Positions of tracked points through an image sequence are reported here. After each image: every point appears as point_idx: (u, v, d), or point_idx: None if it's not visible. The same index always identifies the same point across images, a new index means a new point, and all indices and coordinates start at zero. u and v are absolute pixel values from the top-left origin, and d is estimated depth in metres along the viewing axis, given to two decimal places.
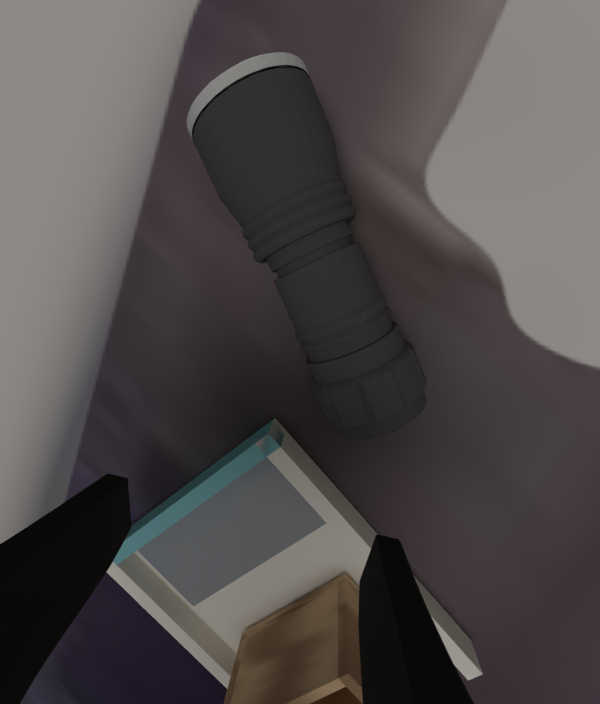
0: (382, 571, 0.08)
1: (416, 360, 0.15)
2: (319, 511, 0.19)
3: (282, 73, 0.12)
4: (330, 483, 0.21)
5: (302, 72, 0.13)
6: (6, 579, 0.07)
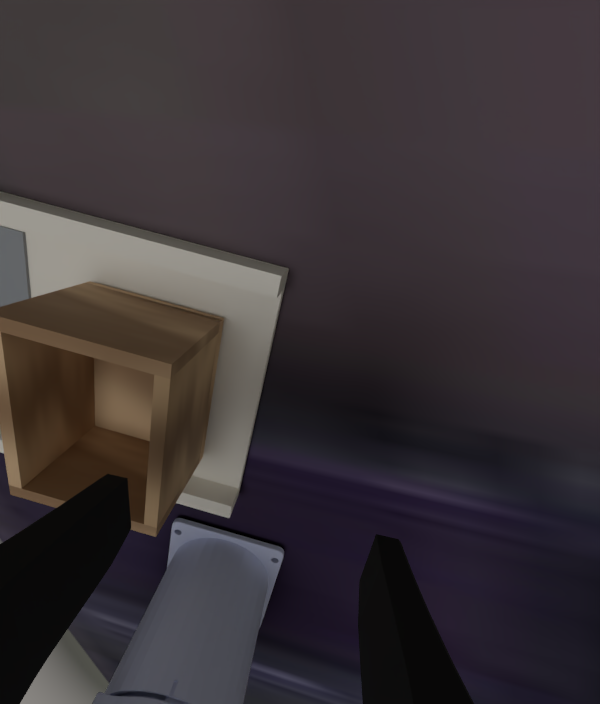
0: (382, 571, 0.08)
1: None
2: None
3: None
4: None
5: None
6: (6, 579, 0.07)
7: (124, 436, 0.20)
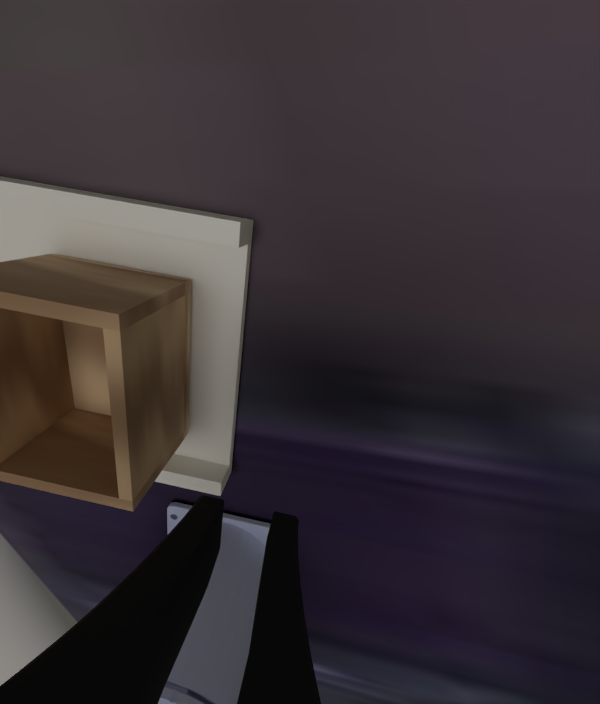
0: (265, 544, 0.08)
1: None
2: None
3: None
4: None
5: None
6: (146, 614, 0.06)
7: (104, 416, 0.19)
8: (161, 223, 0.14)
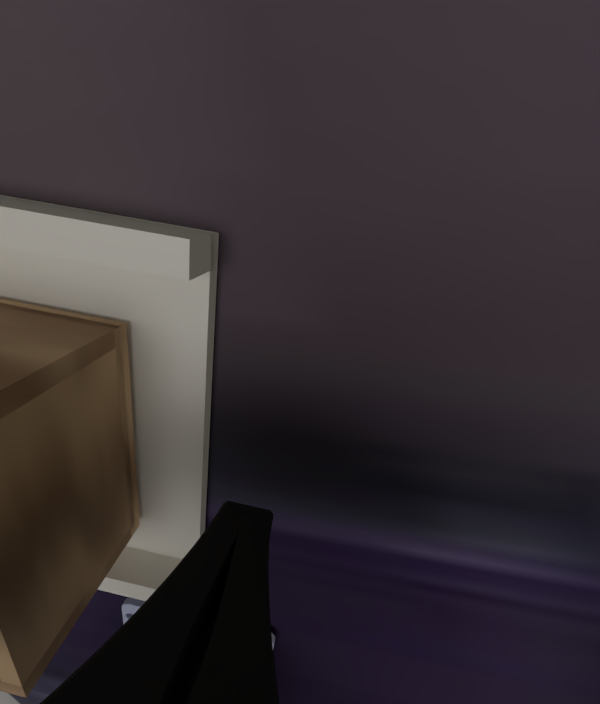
0: (237, 537, 0.08)
1: None
2: None
3: None
4: None
5: None
6: (182, 623, 0.06)
7: None
8: (62, 241, 0.09)
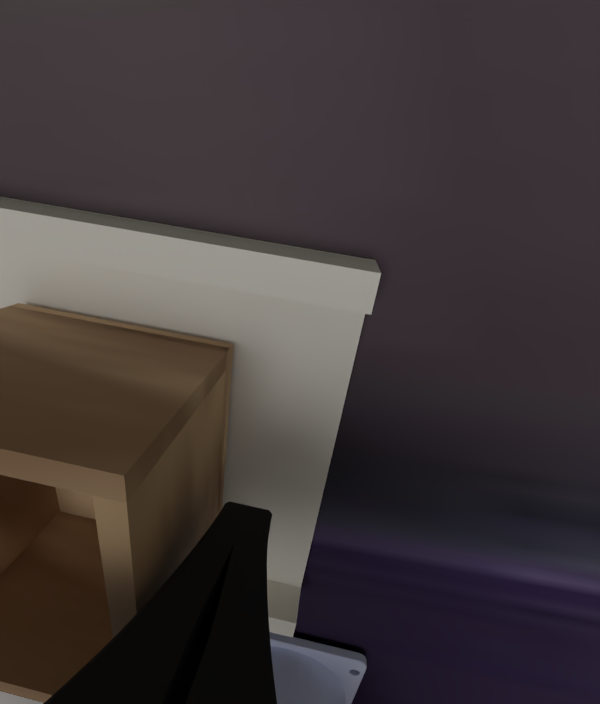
0: (236, 537, 0.08)
1: None
2: None
3: None
4: None
5: None
6: (185, 624, 0.06)
7: None
8: (239, 273, 0.08)
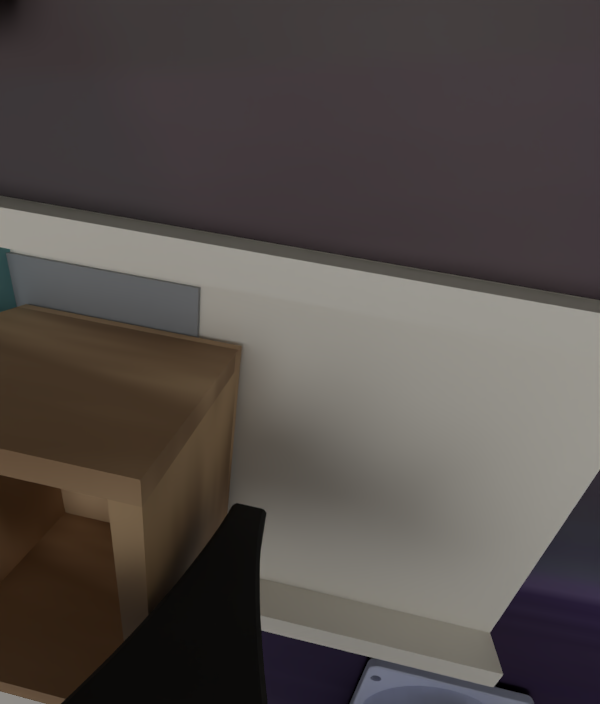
0: (229, 535, 0.08)
1: None
2: (116, 262, 0.09)
3: None
4: (148, 222, 0.10)
5: None
6: (196, 626, 0.06)
7: (108, 527, 0.13)
8: (588, 337, 0.08)
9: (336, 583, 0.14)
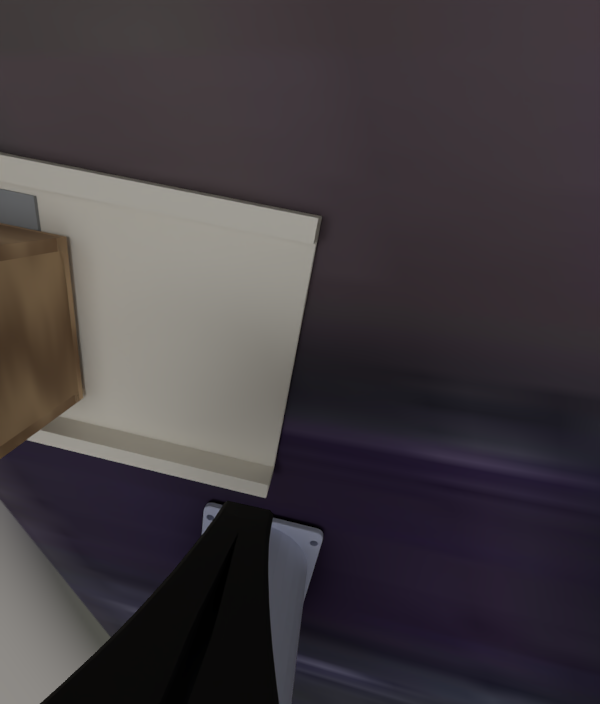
0: (237, 537, 0.08)
1: None
2: None
3: None
4: (1, 152, 0.15)
5: None
6: (183, 623, 0.06)
7: None
8: (233, 217, 0.14)
9: (165, 430, 0.20)
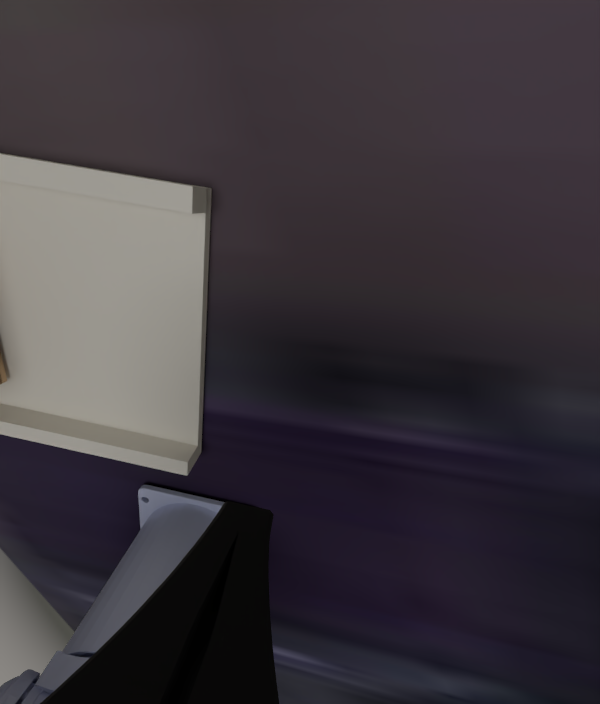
0: (237, 537, 0.08)
1: None
2: None
3: None
4: None
5: None
6: (183, 623, 0.06)
7: None
8: (113, 188, 0.14)
9: (90, 411, 0.20)
